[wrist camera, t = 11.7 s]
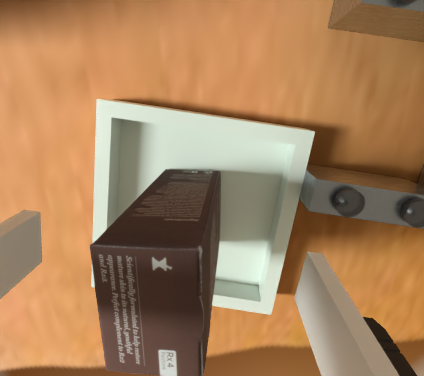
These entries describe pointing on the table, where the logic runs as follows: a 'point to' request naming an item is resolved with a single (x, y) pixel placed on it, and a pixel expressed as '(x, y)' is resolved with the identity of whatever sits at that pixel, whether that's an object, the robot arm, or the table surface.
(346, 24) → the hitch bracket
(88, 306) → the table surface
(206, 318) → the box
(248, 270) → the tray
